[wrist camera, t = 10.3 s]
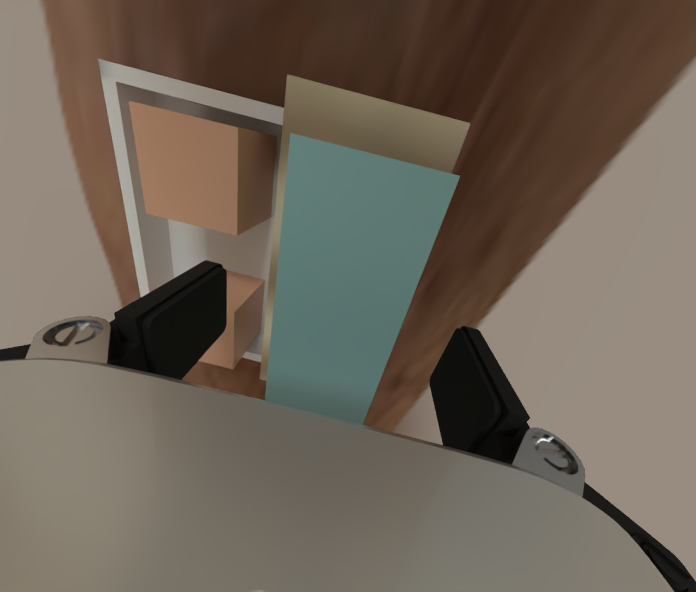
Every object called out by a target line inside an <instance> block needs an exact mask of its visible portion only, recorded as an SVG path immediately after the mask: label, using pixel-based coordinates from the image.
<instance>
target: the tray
mask: <svg viewBox="0 0 696 592" xmlns="http://www.w3.org/2000/svg"><path fill="white" fill-rule="evenodd" d="M98 63H99V68H100V74H101V79H102V85H103V90H104V96H105V101H106V107H107V113H108V118H109V124H110V129H111V135H112V140H113V146H114V151H115V157H116V162H117V168H118V174H119V179H120V185H121V190H122V196H123V201H124V207H125V212H126V218H127V223H128V229H129V235H130V240H131V246H132V251H133V257H134V262H135V268H136V273H137V279H138V284H139V290H140V296H141V297H143V296H144V295H146V294H148V293H150V292H151V291H153V290H155V289H156V288H158V287H160V286H162V285H163V284H165V283H167V282H168V281H170V280H172V279H174V278H175V277H177V276H179V275H180V274H182V273H184V272H186V271H187V270H189V269H191V268H192V267H194V266H196V265H198V264H199V263H201V262H203V261H205V260H208V261H212V262H215V263H219V264H222V266H223V268H224V269H226V270H228V271H232V272H236V273H240V274H244V275H248V276H251V277H255V278H259V279H263V280H265V287H264V299H263V312H262V324H261V330H260V332H259V333H258V335H257V336H256V338H255V339H254V340H253V342H252V343H251V345H250V346H249V348H248V349H247V351H246V352H245V353H244V355H243V356H242V358H246V359H250V360H254V361H258V362H261V358H262V347H263V336H264V325H265V314H266V303H267V292H268V281H269V270H270V259H271V248H272V237H273V226H274V215H275V204H276V193H277V182H278V170H279V159H280V148H281V137H282V126H283V115H284V108H282V107H279V106H275V105H271V104H267V103H263V102H260V101H256V100H252V99H248V98H245V97H241V96H237V95H233V94H229V93H226V92H222V91H218V90H214V89H211V88H207V87H203V86H199V85H195V84H192V83H188V82H184V81H180V80H177V79H173V78H169V77H165V76H161V75H158V74H154V73H150V72H146V71H143V70H139V69H135V68H131V67H127V66H124V65H120V64H116V63H112V62H109V61H105V60H101V59H98ZM129 101H132V102H136V103H141V104H145V105H150V106H154V107H158V108H163V109H167V110H171V111H176V112H180V113H184V114H189V115H193V116H197V117H201V118H206V119H210V120H214V121H218V122H222V123H226V124H230V125H234V126H238V127H242V128H246V129H250V130H254V131H258V132H262V133H266V134H270V135H274V136H277V142H276V156H275V170H274V184H273V198H272V212H271V218H269V219H267V220H265V221H263V222H262V223H260V224H258V225H256V226H254V227H252V228H251V229H249V230H247V231H245V232H243V233H241V234H239V235H238V236H236V235H232V234H228V233H224V232H219V231H215V230H211V229H207V228H203V227H199V226H195V225H191V224H187V223H183V222H179V221H174V220H170V219H166V218H162V217H158V216H154V215H150V214H146V210H145V203H144V197H143V190H142V184H141V178H140V171H139V165H138V158H137V152H136V145H135V139H134V133H133V126H132V120H131V113H130V107H129Z"/></svg>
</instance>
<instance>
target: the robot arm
mask: <svg viewBox="0 0 696 592" xmlns="http://www.w3.org/2000/svg"><path fill="white" fill-rule="evenodd" d="M114 314H115V319H114V320H113V321H111V322H110V323H109V322H108V321H107V320H105V319H102V318H99V317H91V316H84V317H75V318H68V319H64V320H61V321H57V322H55V323H53V324H50V325H48V326H46V327H44V328H43V329H42V330H40V331H39V332H38V333H37V334H36V335H35V337H34V338H33V341H32V343H31V344H29V345H24V346H18V347H13V348H7V349H1V350H0V592H696V581H695V580H694V579H693V577H692V576H691V575H690V573H689V572H688V571H687V569H686V568H685V566H684V565H683V564H682V563H681V562H680V560H679V559H678V558H677V557H676V556H675V555H674V554H673V553H671V552H670V551H669V550H668V549H666V548H665V547H664V546H663V545H662V544H661V543H659V542H658V541H657V540H656V539H655V538H653V537H652V536H651V535H650V534H648V533H647V532H646V531H645V530H643V529H642V528H641V527H640V526H639V525H637V524H636V523H635V522H634V521H632V520H631V519H630V518H629V517H627V516H626V515H625V514H624V513H622V512H621V511H620V510H619V509H617V508H616V507H615V506H613V505H612V504H611V503H610V502H609V501H608V500H606V499H605V498H604V497H603V496H601V495H600V494H599V493H598V492H596V491H595V490H594V489H593V488H591V487H590V486H589V485H588V484H586V483H585V469H584V467H583V464H582V462H581V460H580V459H579V457H578V456H577V455H576V453H575V452H574V451H573V450H572V449H571V448H570V447H569V446H568V445H567V444H566V443H565V442H564V441H562V440H561V439H560V438H558V437H557V436H555V435H554V434H552V433H550V432H548V431H546V430H544V429H541V428H530V427H529V425H528V424H527V421H528V420H529V418H530V417H529V415H528V414H527V412H526V410H525V408H524V407H523V405H522V403H521V402H520V400H519V398H518V396H517V395H516V393H515V391H514V389H513V388H512V386H511V384H510V382H509V381H508V379H507V378H506V376H505V374H504V372H503V370H502V369H501V367H500V365H499V364H498V362H497V360H496V358H495V357H494V355H493V353H492V351H491V350H490V348H489V346H488V344H487V343H486V341H485V339H484V338H483V336H482V334H481V333H480V331H479V330H477V329H473V328H470V327H466V326H463V327H461V328H460V329H459V328H458V329H456V330H455V332H454V334H453V335H452V337H451V339H450V341H449V343H448V345H447V347H446V349H445V351H444V352H443V354H442V356H441V358H440V360H439V362H438V364H437V366H436V367H435V369H434V371H433V373H432V375H431V377H430V388H431V392H432V397H433V401H434V405H435V410H436V415H437V419H438V424H439V428H440V433H441V438H442V442H443V445H439V444H436V443H432V442H428V441H424V440H420V439H416V438H412V437H408V436H405V435H401V434H397V433H393V432H389V431H385V430H381V429H377V428H373V427H369V426H365V425H362V424H358V423H354V422H350V421H346V420H342V419H338V418H334V417H330V416H326V415H322V414H318V413H314V412H310V411H306V410H302V409H298V408H294V407H289V406H285V405H281V404H277V403H273V402H269V401H265V400H261V399H257V398H253V397H249V396H245V395H241V394H237V393H232V392H228V391H224V390H220V389H216V388H212V387H208V386H204V385H200V384H196V383H191V382H187V381H183V380H181V379H182V378H183V377H184V376H185V375H186V374H187V373H188V372H189V370H190V369H191V368H192V367H193V366H194V365H195V364H196V363H197V361H198V360H199V359H200V358H201V357H202V356H203V355H204V354H205V353H206V351H207V350H208V349H209V348H210V347H211V346H212V345H213V344H214V343H215V341H216V340H217V339H218V338H219V337H220V336H221V335H222V334H223V332H224V331H225V329H226V325H227V271H226V269H224V268H223V266H222V264H219V263H215V262H212V261H208V260H205V261H203V262H201V263H199V264H198V265H196V266H194V267H192V268H191V269H189V270H187V271H186V272H184V273H182V274H180V275H179V276H177V277H175V278H174V279H172V280H170V281H168V282H167V283H165V284H163V285H162V286H160V287H158V288H156V289H155V290H153V291H151V292H150V293H148V294H146V295H144V296H143V297H141V298H139V299H138V300H136V301H134V302H132V303H131V304H129V305H127V306H126V307H124V308H122V309H120V310H119V311H117V312H115V313H114Z"/></svg>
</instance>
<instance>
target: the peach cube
mask: <svg viewBox="0 0 696 592" xmlns="http://www.w3.org/2000/svg"><path fill="white" fill-rule="evenodd" d="M226 271H227V325H226V329H225V331H224V332H223V334H222V335H221V336H220V337H219V338H218V339H217V340H216V341H215V343H214V344H213V345H212V346H211V347H210V348H209V349H208V350H207V351H206V353H205V354H204V355H203V356H202V357H201V358H200V359H199V360H198V361H201V362H205V363H209V364H213V365H217V366H221V367H225V368H229V369H234V368H235V366H236V365H237V364H238V362H239V361H240V359H241V358H242V356H243V355H244V353H245V352H246V351H247V349H248V348H249V346H250V345H251V343H252V342H253V340H254V339H255V338H256V336H257V335H258V333H259V332H260V330H261V324H262V312H263V299H264V287H265V280H263V279H259V278H255V277H251V276H248V275H244V274H240V273H236V272H232V271H228V270H226Z"/></svg>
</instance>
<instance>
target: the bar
mask: <svg viewBox="0 0 696 592" xmlns="http://www.w3.org/2000/svg"><path fill="white" fill-rule="evenodd" d="M459 178H460V176H459V175H455V174H451V173H447V172H443V171H439V170H435V169H431V168H427V167H423V166H419V165H415V164H411V163H407V162H403V161H399V160H395V159H391V158H388V157H384V156H380V155H376V154H372V153H368V152H364V151H360V150H356V149H352V148H348V147H344V146H340V145H336V144H332V143H328V142H324V141H321V140H317V139H313V138H309V137H305V136H301V135H297V134H293V133H290V143H289V153H288V164H287V174H286V184H285V194H284V205H283V215H282V225H281V236H280V246H279V256H278V267H277V277H276V287H275V298H274V308H273V318H272V329H271V339H270V349H269V360H268V370H267V380H266V391H265V401H269V402H273V403H277V404H281V405H285V406H289V407H294V408H298V409H302V410H306V411H310V412H314V413H318V414H322V415H326V416H330V417H334V418H338V419H342V420H346V421H350V422H354V423H358V424H362V425H363V423H364V420H365V417H366V415H367V412H368V410H369V407H370V405H371V402H372V400H373V397H374V395H375V392H376V389H377V387H378V384H379V382H380V379H381V377H382V374H383V372H384V369H385V367H386V364H387V361H388V359H389V356H390V354H391V351H392V349H393V346H394V344H395V341H396V338H397V336H398V333H399V331H400V328H401V326H402V323H403V321H404V318H405V316H406V313H407V310H408V308H409V305H410V303H411V300H412V298H413V295H414V293H415V290H416V288H417V285H418V282H419V280H420V277H421V275H422V272H423V270H424V267H425V265H426V262H427V260H428V257H429V254H430V252H431V249H432V247H433V244H434V242H435V239H436V237H437V234H438V232H439V229H440V226H441V224H442V221H443V219H444V216H445V214H446V211H447V209H448V206H449V203H450V201H451V198H452V196H453V193H454V191H455V188H456V186H457V183H458V181H459Z"/></svg>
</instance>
